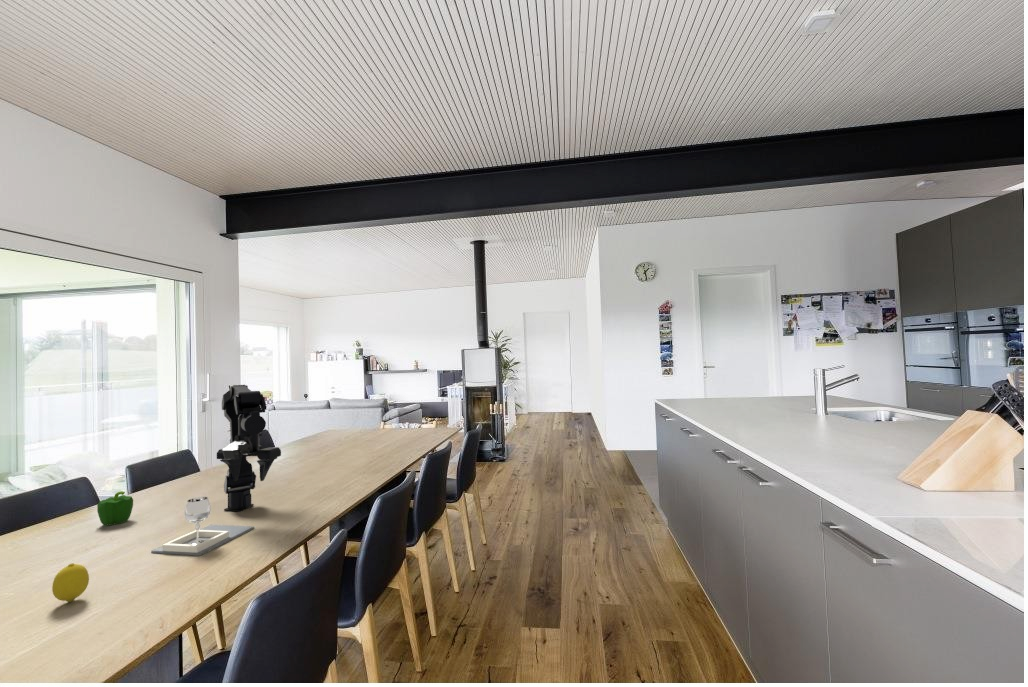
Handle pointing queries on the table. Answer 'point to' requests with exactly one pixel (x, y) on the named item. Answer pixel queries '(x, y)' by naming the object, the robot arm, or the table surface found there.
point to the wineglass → (197, 514)
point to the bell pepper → (115, 509)
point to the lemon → (70, 582)
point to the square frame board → (211, 534)
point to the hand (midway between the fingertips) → (249, 480)
